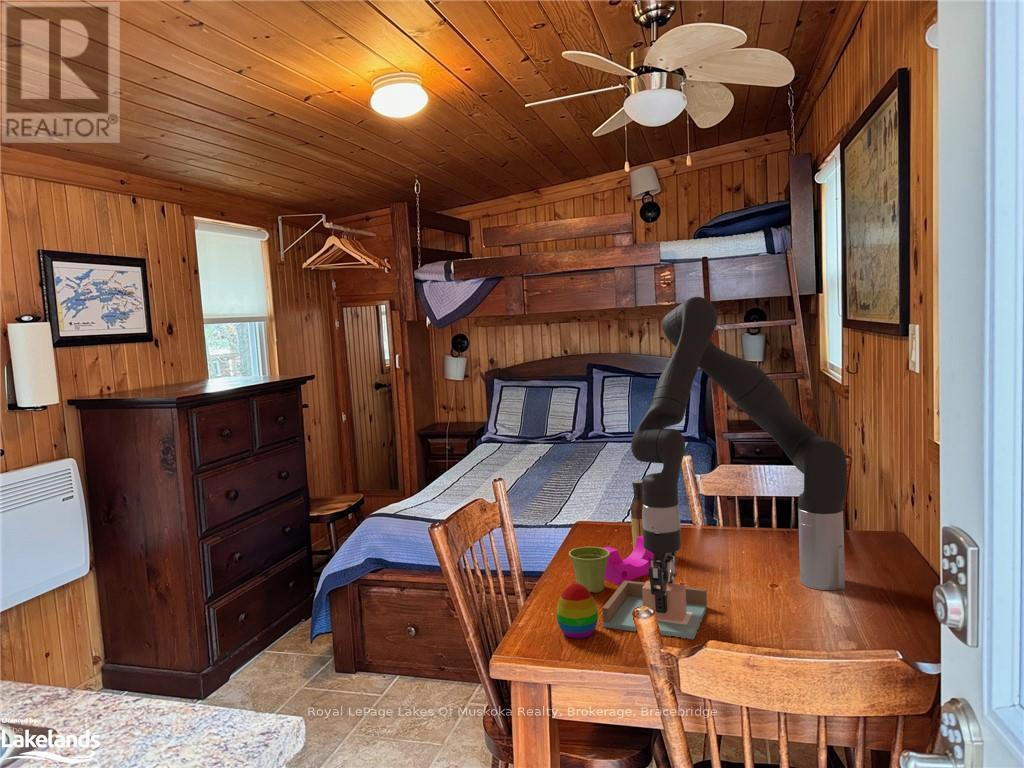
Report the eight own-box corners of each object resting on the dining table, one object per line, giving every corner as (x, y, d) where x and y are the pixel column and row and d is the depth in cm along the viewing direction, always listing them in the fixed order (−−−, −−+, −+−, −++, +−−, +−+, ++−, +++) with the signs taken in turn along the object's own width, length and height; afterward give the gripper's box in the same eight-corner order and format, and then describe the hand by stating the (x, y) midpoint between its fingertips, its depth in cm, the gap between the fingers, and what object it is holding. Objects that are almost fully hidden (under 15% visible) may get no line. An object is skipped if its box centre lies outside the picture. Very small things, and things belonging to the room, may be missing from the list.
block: (647, 608, 143) (646, 581, 142) (686, 613, 139) (685, 585, 139) (643, 616, 139) (642, 587, 139) (682, 621, 136) (681, 592, 135)
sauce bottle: (660, 552, 181) (657, 479, 180) (652, 559, 176) (649, 484, 175) (637, 549, 185) (634, 477, 183) (628, 556, 180) (625, 482, 178)
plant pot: (587, 578, 165) (586, 543, 165) (619, 587, 159) (617, 551, 158) (562, 590, 159) (560, 553, 158) (594, 599, 152) (592, 561, 151)
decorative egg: (591, 644, 130) (589, 593, 130) (551, 639, 134) (549, 589, 133) (603, 626, 138) (601, 578, 137) (565, 622, 141) (563, 575, 140)
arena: (707, 607, 144) (706, 589, 144) (693, 639, 130) (692, 619, 130) (624, 597, 152) (624, 580, 152) (603, 627, 138) (602, 607, 137)
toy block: (618, 586, 160) (617, 554, 159) (600, 579, 165) (599, 548, 164) (662, 570, 169) (660, 540, 168) (643, 564, 174) (642, 535, 173)
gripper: (651, 515, 146) (654, 592, 147) (633, 534, 133) (637, 618, 134) (686, 517, 143) (689, 596, 144) (672, 537, 130) (675, 623, 131)
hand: (664, 606), depth 139 cm, fingers open, 5 cm apart
